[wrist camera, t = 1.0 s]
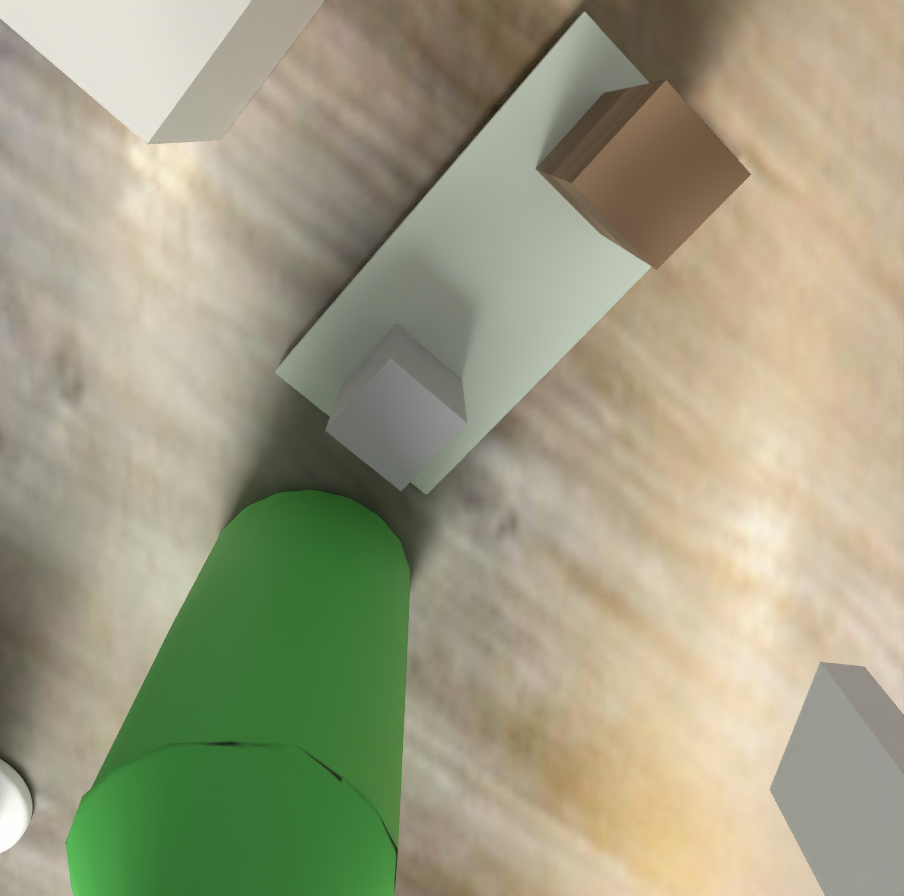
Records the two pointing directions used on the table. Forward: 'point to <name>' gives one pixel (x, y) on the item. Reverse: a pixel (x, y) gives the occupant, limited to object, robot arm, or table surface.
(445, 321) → the rack
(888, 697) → the robot arm
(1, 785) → the candle
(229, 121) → the white square column
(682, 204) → the tall post
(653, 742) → the table surface
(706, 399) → the table surface
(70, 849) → the bottle
